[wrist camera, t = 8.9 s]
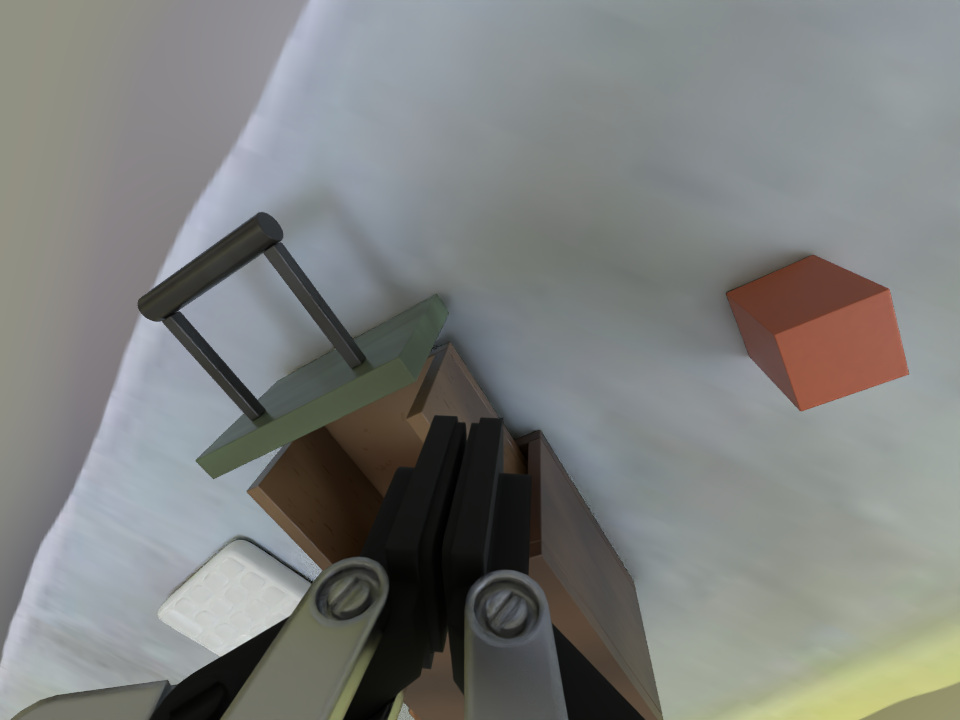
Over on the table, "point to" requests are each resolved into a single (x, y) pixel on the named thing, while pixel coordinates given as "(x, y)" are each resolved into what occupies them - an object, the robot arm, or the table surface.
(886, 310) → the block
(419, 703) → the cabinet
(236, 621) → the calculator
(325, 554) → the drawer
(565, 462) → the table surface
